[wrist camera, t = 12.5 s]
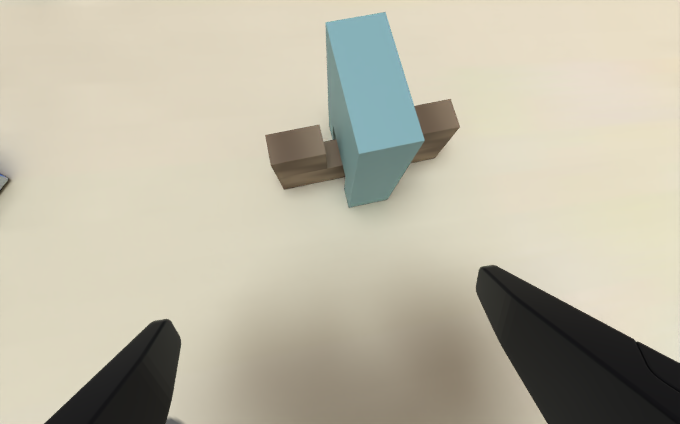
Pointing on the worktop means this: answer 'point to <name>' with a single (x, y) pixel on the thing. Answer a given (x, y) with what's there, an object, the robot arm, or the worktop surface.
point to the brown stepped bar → (324, 157)
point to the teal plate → (369, 107)
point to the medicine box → (3, 180)
